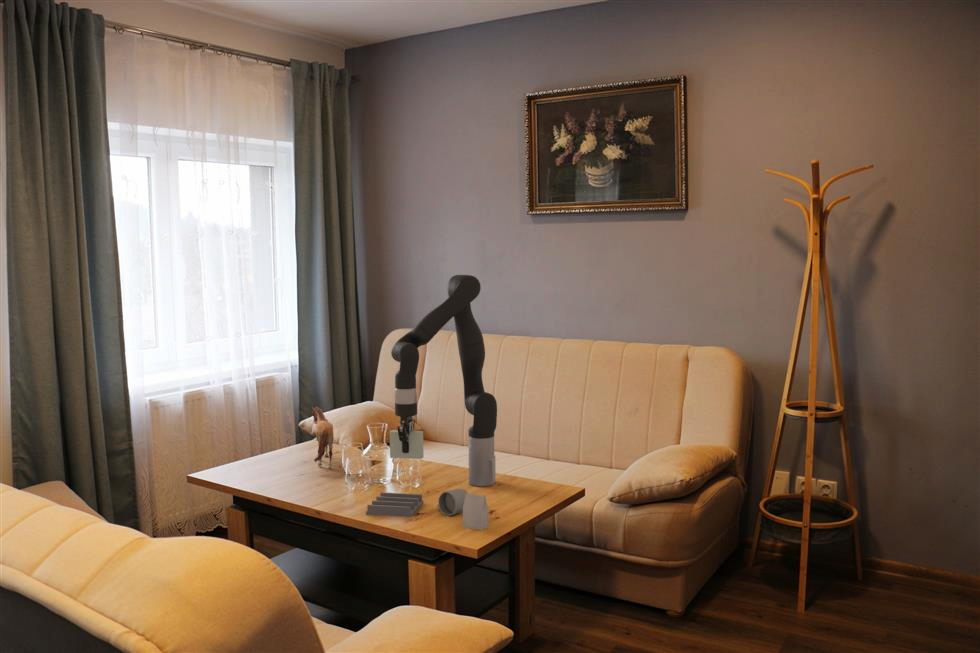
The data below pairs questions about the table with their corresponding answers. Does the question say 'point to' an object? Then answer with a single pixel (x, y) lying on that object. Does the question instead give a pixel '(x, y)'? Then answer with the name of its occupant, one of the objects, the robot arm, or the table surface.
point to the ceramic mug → (451, 501)
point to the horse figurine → (323, 435)
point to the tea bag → (475, 512)
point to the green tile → (414, 445)
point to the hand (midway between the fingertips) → (406, 451)
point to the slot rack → (395, 504)
